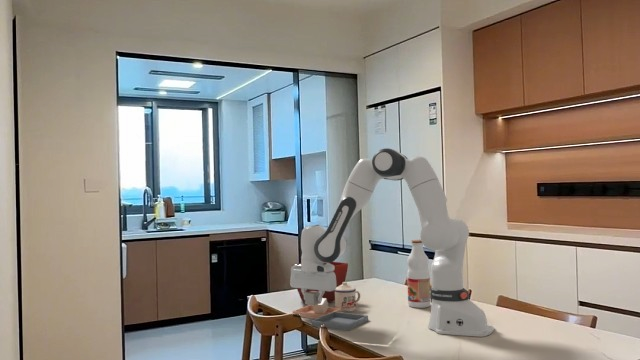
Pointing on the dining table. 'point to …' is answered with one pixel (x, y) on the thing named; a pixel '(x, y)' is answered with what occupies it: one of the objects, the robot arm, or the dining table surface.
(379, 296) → the dining table surface
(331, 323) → the tray
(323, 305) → the stone
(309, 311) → the tray
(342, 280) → the plant pot
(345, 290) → the teacup with lid
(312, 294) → the stone
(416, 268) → the fruit juice
